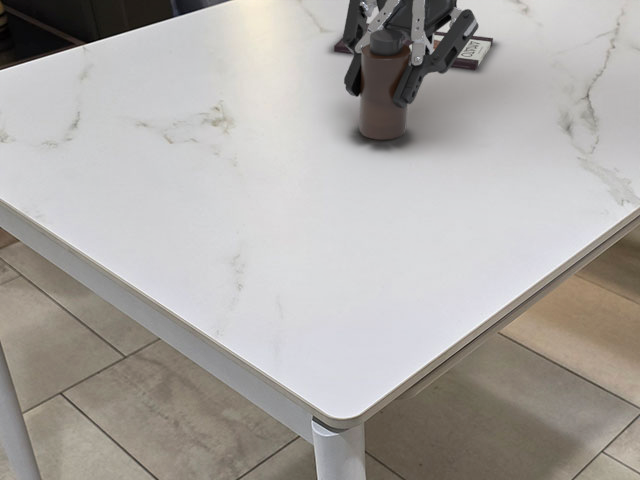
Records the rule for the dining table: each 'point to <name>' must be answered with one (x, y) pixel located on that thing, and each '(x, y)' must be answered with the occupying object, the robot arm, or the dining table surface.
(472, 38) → the chocolate bar
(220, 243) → the dining table surface
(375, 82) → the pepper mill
